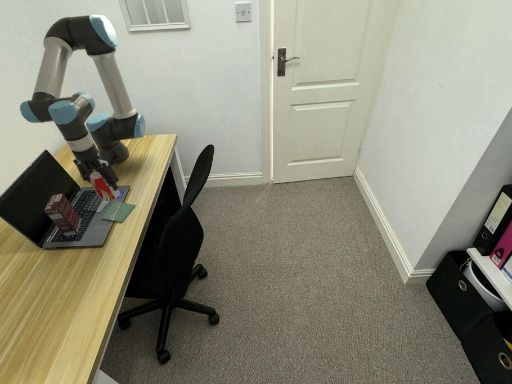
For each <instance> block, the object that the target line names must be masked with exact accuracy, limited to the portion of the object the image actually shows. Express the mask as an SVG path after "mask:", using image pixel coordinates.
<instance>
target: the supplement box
mask: <svg viewBox="0 0 512 384" xmlns="http://www.w3.org/2000/svg"><path fill="white" fill-rule="evenodd" d="M43 211H44V213H45V214H46V215H47V216H48V218H49V219H50V221H52V222H53V223H54V225H56V227H57V228H58V229H59V230H60V232H61V233H62V234H63V235H64V237H65V236H70V235H76V234H78V231H79V228H80V229H81V227H80V223H81V220H83V219H82V217H81V216H80V215H79V214H78V212H77V211H76V209H75V208H74V206H73V205H72V204H71V202H70V201H69V200H68V198H67V197H66V196H65V194H64V193H57V194H52V195H50V197H49V199H48V201H47V203H46V204H45V208H44V209H43ZM79 232H80V231H79ZM78 235H79V234H78Z"/></svg>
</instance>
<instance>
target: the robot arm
mask: <svg viewBox="0 0 512 384" xmlns="http://www.w3.org/2000/svg"><path fill="white" fill-rule="evenodd" d="M42 45H43V48H44V52H43V55H42V60H41V63H40V67H39V69H38V71H39V72H38V74H37V79H36V81H35V86H34V89H33V93H32V97H31V99H30V100H29V99H28V100H25V101H24V100H23V102H21V103H20V105H19V111H20V113H21V116H22V117H23V119H25V120H26V121H27V122H29V123H32V124H37V123H38V124H40V123H41V124H45V123H48V122H49V123H50V122H53V123H54V124H55V126H56V128H57V129H58V130H59V132H60V134H61V135H62V136H63V139H64V141H65V142H66V144H67V145H68V147H69V149H70V150H71V153H72V154H73V156H74V159H73V160H72V162H73V163H74V165H75V166H76V168H77V169H78V172H79V174H80V177H81V178H82V180H83V181H84V182H86V181H87V182H88V183H89V184H90V186H91V187H92V188H93V189H94V187H93V186H92V184H91V182H90V174H91V173H92V172H93V171H96V172H99V174H100V175H101V176H102V177H103V178H104V179H105V180H106V181H107V182H108V183H109V185H108V186H109V188H110V190H111V192H112V194H113V196H114V197H115V199H117V198H118V197H119V195H121V192H120V190H119V186H118V185H117V184H118V183H119V181H120V179H119V177H118V176H117V174H116V172H115V171H114V170H113V168H112V166H111V165H117V164H120V163H122V162H124V161H125V160H126V159H128V158H129V156H130V150H129V148H128V147H127V146H126V145H125V144H124V143H123V142H122V141H125V140H127V141H128V140H136V139H142V138H144V137H145V135H146V121H145V117H144V115H143V114H141V113H138V109H136V108H134V107H133V105H132V102H131V100H130V96H129V94H128V91H127V88H126V85H125V82H124V80H123V76H122V73H121V71H120V68H119V66H118V63H117V60H116V57H115V54H116V52H117V48H116V47H118V45H119V40H118V36H117V33H116V31H115V29H114V26H113V25H112V23H111V22H110V20H109V19H108V18H107V17H106V16H104V15H101V14H87V15H81V16H79V15H77V16H66V17H65V16H64V17H61V18H60V19H57V21H55V22H54V23H53V24H52V25H51V26H50V27H49V28H48V30H47V32H46V33H45V36H44V38H43V42H42ZM82 50H84V51H85V52H86V55H87V57H89V58H91V59H92V60H93V62H94V65H95V67H96V70H97V73H98V75H99V77H100V79H101V82H102V85H103V87H104V90H105V92H106V95H107V98H108V99H109V103H110V105H111V107H112V110H113V112H112V115H110V114H109V113H107V112H102V113H98V114H95V115H93V116H92V117H90V116H91V115H92V114H93V112H94V110H95V107H96V102H95V100H94V98H93V97H92V96H91V95H90V94H88V93H86V92H82V91H77V92H75V93H74V94H73V95H71V96H65V97H61V92H62V88H63V83H64V79H65V75H66V70H67V66H68V61H69V59H70V58H71V57H72V56H73V53H74V52H75V51H82ZM95 193H96V195H98V194H97V192H96V191H95Z"/></svg>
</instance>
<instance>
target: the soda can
mask: <svg viewBox="0 0 512 384" xmlns="http://www.w3.org/2000/svg"><path fill="white" fill-rule="evenodd" d="M90 182H91V184H92V185H91V184H90V185H91V187H92V186H93V187H94V188H93V187H92V188H93V189H94V191H95V193H96V192H97V193H96V195H97V194H98V196H99V197H100V199H101V200H103V201H110V202H111V201H113V200H114V199H116V198H115V197H114V196H113V194H112V192H111V190H110V188H109V186H108V185H109V183H108V182H107V181H106V180H105V179H104V178H103V177H102V176H101V175H100V174H99V172H96V171H95V170H93V172H92V173H91V174H90Z"/></svg>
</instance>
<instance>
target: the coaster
mask: <svg viewBox="0 0 512 384" xmlns="http://www.w3.org/2000/svg"><path fill="white" fill-rule="evenodd" d="M120 203H121V204H120V205H119V204H118V205H117V203H116V204H115V202H114V203H113V204H112V205H111V207H109V209H108V210H106V213H105V212H104V214H103V216H102V217H101V219H102V220H104V219H109V220H108V221H110V218H111V217H110V216H109V215H112V214H115V211H116V210H117V206H120V207H119V208H118V211H117V213H116V215H115V217H114V221H113V222H115V223H116V222H118V223H124V221H126V219H127V218H128V217H129V215H130V214H131V212H133V210H134V209H135V208H136V204H133V203H126V202H120Z"/></svg>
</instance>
